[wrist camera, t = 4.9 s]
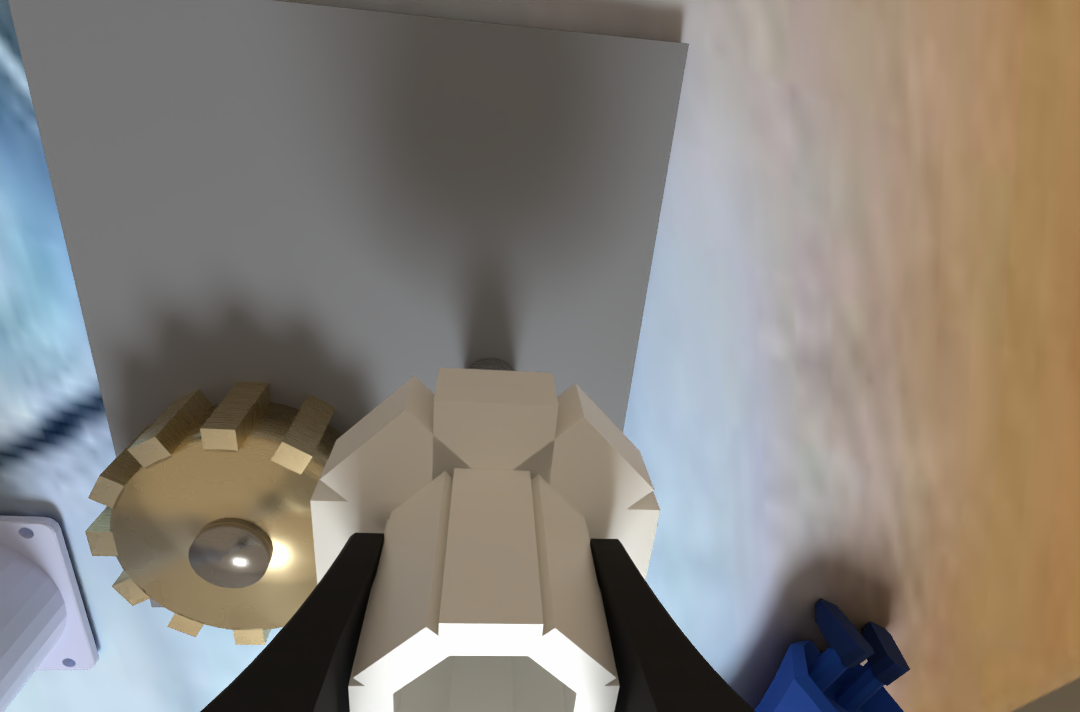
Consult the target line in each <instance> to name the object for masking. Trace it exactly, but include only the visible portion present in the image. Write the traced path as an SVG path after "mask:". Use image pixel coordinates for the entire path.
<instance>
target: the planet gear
mask: <svg viewBox="0 0 1080 712" xmlns="http://www.w3.org/2000/svg"><path fill="white" fill-rule="evenodd" d="M653 490H654V488H653V485H652V483H651V480H650V477H649V475H648V472H647V469H646V467H645V464H644V461H643V459H642V456H641V453H640V451H639V450H638V449H637V448H636V447H635V446H634V445H633V444H632V443H631V442H630V440H629V439H628V438H627V437H626V436H625V435H624V434H623V433H622V432H621V431H620V430H619V429H618V428H617V427H616V426H615V425H614V423H613V422H612V421H611V420H610V419H609V418H608V417H607V416H606V415H605V414H604V413H603V412H602V411H601V410H600V409H599V408H598V406H597V405H596V404H595V403H594V402H593V401H592V400H591V399H590V398H589V397H588V396H587V395H586V394H585V393H584V392H583V390H582V389H581V388H580V387H579V386H578V385H577V384H576V383H575V384H574V385H572V386H571V387H570V388H568V389H567V390H566V391H565V392H563V393H562V394H561V395H559V396H558V397H557V395H556V390H555V385H554V379H553V374H552V373H544V372H523V371H503V370H482V369H462V368H441V367H440V369H439V375H438V380H437V386H436V391H435V394H434V393H433V392H432V391H431V390H429V389H428V388H427V387H426V386H425V385H424V384H423V383H422V382H421V381H420V380H419V379H418V378H417V377H415V376H413V377H412V378H411V379H409V380H408V381H407V382H406V383H405V384H403V385H402V386H401V387H400V388H399V389H397V390H396V391H395V392H394V393H393V394H391V395H390V396H389V397H388V398H387V399H385V400H384V401H383V402H382V403H381V404H379V405H378V406H377V407H376V408H374V409H373V410H372V411H371V412H370V413H368V414H367V415H366V416H365V417H364V418H362V419H361V420H360V421H359V422H358V423H356V424H355V425H354V426H353V427H352V428H350V429H349V430H348V431H347V432H346V433H344V434H343V435H342V436H341V437H340V438H338V439H337V440H336V442H335V444H334V447H333V449H332V452H331V454H330V456H329V459H328V460H327V462H326V464H325V467H324V469H323V472H322V474H321V476H320V479H319V481H318V483H317V486H316V488H315V491H314V493H313V495H312V498H311V500H310V504H311V516H312V527H313V539H314V551H315V563H316V575H317V585H318V583H319V582H320V581H321V579H322V578H323V576H324V575H325V574H326V572H327V571H328V569H329V568H330V567H331V565H332V564H333V562H334V561H335V559H336V558H337V556H338V555H339V553H340V552H341V550H342V549H343V547H344V545H345V544H346V542H347V541H348V539H349V537H350V536H351V535H353V534H354V533H384V543H383V547H382V551H381V555H380V560H379V564H378V568H377V572H376V576H375V579H374V582H373V585H372V587H371V591H370V596H369V600H368V604H367V608H366V613H365V617H364V621H363V625H362V630H361V634H360V638H359V642H358V647H357V651H356V655H355V659H354V664H353V668H352V672H351V676H350V681H349V685H348V690H349V706H350V712H614V711H615V706H616V701H617V696H618V692H619V687H620V685H619V680H618V675H617V670H616V665H615V660H614V655H613V650H612V645H611V640H610V635H609V630H608V625H607V620H606V616H605V611H604V606H603V601H602V596H601V591H600V588H599V585H598V581H597V577H596V572H595V567H594V562H593V557H592V552H591V547H590V540H591V538H596V539H618V540H619V541H620V542H621V543H622V544H623V546H624V548H625V549H626V551H627V553H628V554H629V556H630V558H631V559H632V561H633V562H634V564H635V566H636V567H637V569H638V570H639V572H640V573H641V575H642V576H643V578H644V579H645V580H646V575H647V570H648V565H649V561H650V556H651V551H652V546H653V542H654V537H655V532H656V528H657V523H658V518H659V513H660V509H659V506H658V503H657V501H656V498H655V495H654V492H653Z"/></svg>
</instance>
